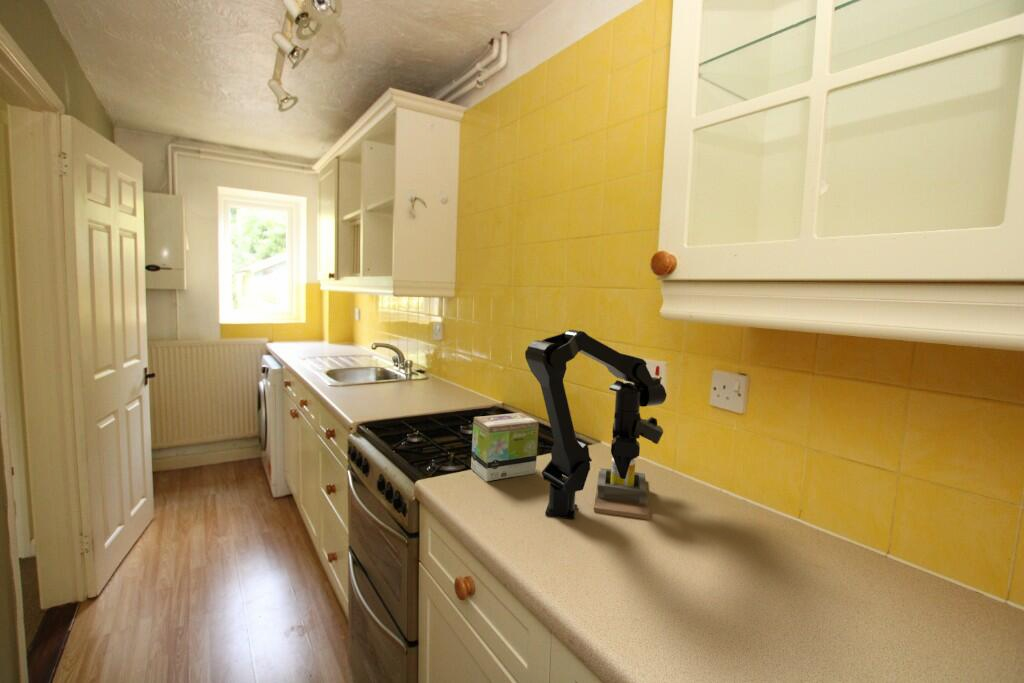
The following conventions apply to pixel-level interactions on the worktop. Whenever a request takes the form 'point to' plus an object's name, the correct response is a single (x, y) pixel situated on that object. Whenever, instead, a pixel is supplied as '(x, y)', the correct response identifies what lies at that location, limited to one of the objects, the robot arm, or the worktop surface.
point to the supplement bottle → (629, 477)
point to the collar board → (621, 496)
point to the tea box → (504, 446)
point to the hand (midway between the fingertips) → (622, 471)
